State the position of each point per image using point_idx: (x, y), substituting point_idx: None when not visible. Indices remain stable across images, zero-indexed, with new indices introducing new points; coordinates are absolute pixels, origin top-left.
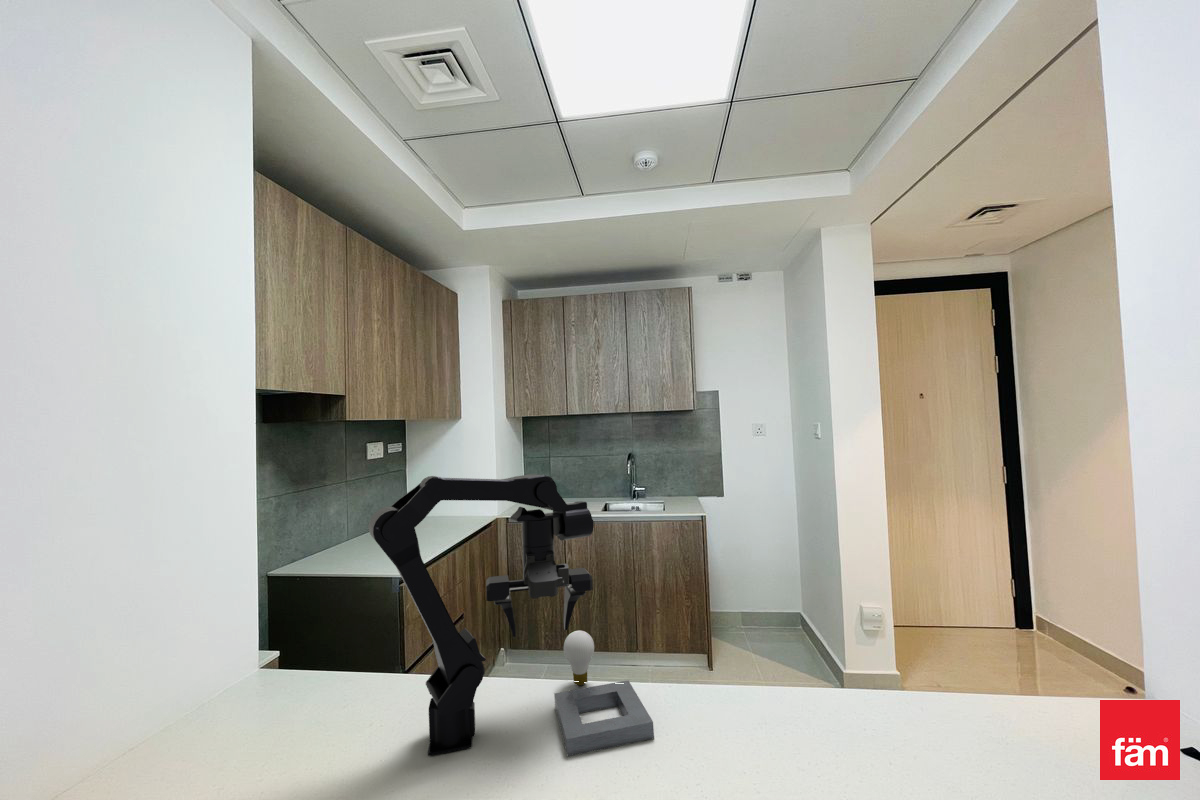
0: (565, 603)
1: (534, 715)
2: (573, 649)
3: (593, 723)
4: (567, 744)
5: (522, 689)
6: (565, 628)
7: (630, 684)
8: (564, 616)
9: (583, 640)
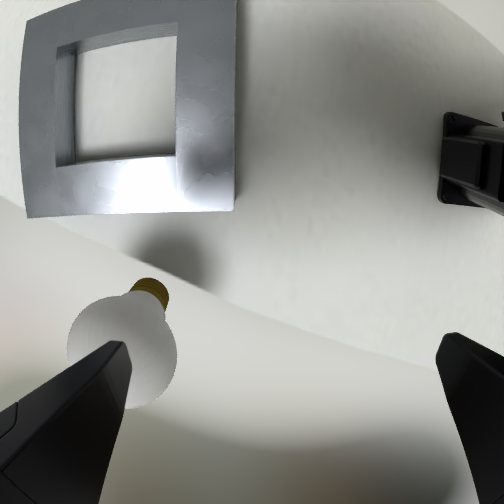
0: (69, 498)
1: (295, 186)
2: (133, 326)
3: (148, 18)
4: None
5: (306, 319)
6: (116, 345)
7: (24, 194)
8: (103, 422)
9: (86, 344)
